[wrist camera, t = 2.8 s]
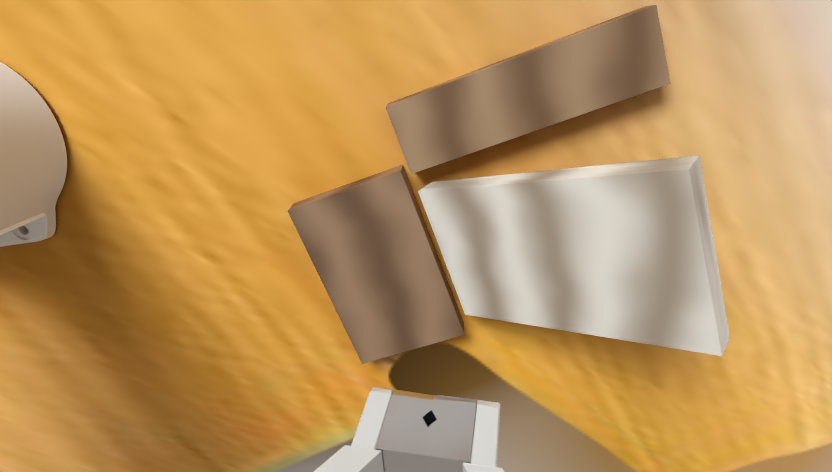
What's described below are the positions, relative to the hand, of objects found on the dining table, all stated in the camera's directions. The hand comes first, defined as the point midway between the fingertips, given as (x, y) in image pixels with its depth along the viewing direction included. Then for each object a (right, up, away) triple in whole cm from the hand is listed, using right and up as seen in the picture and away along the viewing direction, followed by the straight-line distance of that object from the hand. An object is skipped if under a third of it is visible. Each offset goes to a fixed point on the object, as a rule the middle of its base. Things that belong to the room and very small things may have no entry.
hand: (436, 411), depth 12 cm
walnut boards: (+5, +7, +31) cm, 32 cm away
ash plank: (+10, +3, +24) cm, 26 cm away
